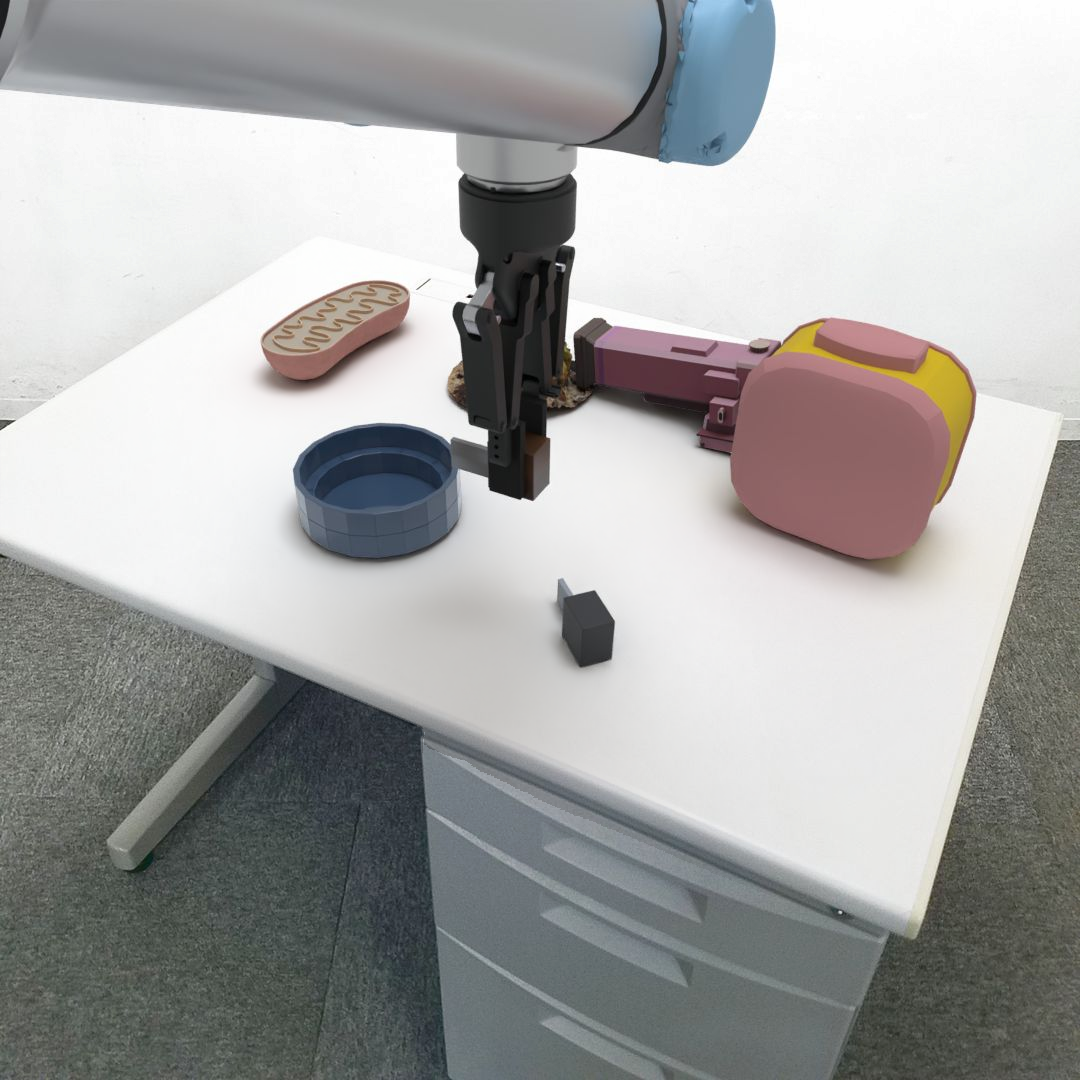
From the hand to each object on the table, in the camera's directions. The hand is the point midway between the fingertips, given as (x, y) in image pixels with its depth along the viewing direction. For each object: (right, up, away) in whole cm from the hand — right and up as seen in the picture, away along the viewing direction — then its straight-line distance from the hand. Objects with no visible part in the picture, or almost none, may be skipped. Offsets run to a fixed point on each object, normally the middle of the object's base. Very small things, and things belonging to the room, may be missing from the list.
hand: (517, 480), depth 75 cm
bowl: (-14, -2, +18) cm, 22 cm away
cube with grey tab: (+5, -12, +5) cm, 14 cm away
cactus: (-1, +13, +38) cm, 40 cm away
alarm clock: (+29, -3, +18) cm, 35 cm away
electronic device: (+18, +9, +33) cm, 39 cm away
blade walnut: (-2, 0, +1) cm, 2 cm away
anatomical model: (-23, +19, +44) cm, 53 cm away
